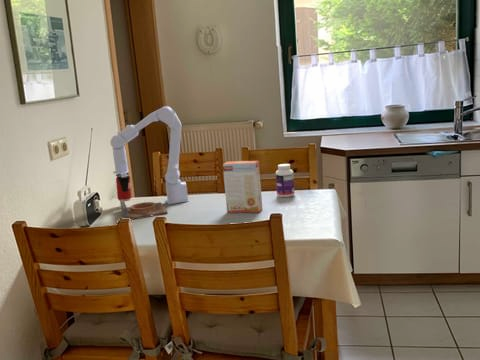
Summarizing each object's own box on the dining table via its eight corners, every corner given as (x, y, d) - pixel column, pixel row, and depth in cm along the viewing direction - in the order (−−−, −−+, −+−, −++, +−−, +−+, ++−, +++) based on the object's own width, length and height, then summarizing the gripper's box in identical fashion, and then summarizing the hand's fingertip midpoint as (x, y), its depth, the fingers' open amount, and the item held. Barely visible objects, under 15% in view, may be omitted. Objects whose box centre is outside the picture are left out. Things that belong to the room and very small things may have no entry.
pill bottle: (274, 195, 233) (272, 164, 230) (291, 192, 235) (289, 162, 232) (280, 199, 225) (278, 167, 222) (297, 196, 227) (295, 165, 224)
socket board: (160, 204, 233) (159, 193, 232) (167, 213, 217) (166, 202, 216) (121, 210, 228) (119, 199, 227) (125, 220, 212) (123, 209, 210)
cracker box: (262, 209, 211) (259, 160, 207) (258, 213, 206) (254, 162, 202) (231, 208, 216) (227, 160, 212) (226, 212, 211) (222, 163, 206)
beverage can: (128, 202, 232) (126, 176, 229) (115, 201, 233) (113, 176, 230) (133, 198, 238) (131, 173, 235) (121, 198, 239) (119, 173, 236)
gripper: (110, 160, 237) (114, 188, 240) (112, 164, 223) (117, 194, 226) (125, 158, 239) (129, 186, 242) (129, 162, 225) (132, 192, 228)
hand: (124, 190), depth 234 cm, fingers closed on beverage can, 6 cm apart
